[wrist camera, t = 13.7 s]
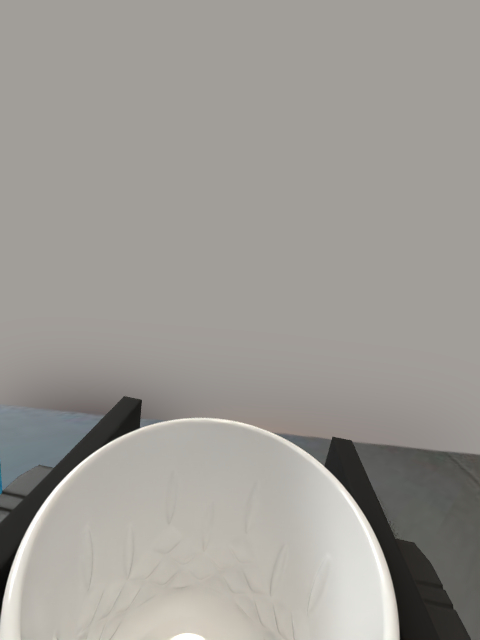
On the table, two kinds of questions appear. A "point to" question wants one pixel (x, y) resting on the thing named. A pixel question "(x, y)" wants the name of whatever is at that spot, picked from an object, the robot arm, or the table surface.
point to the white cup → (199, 545)
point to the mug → (0, 481)
